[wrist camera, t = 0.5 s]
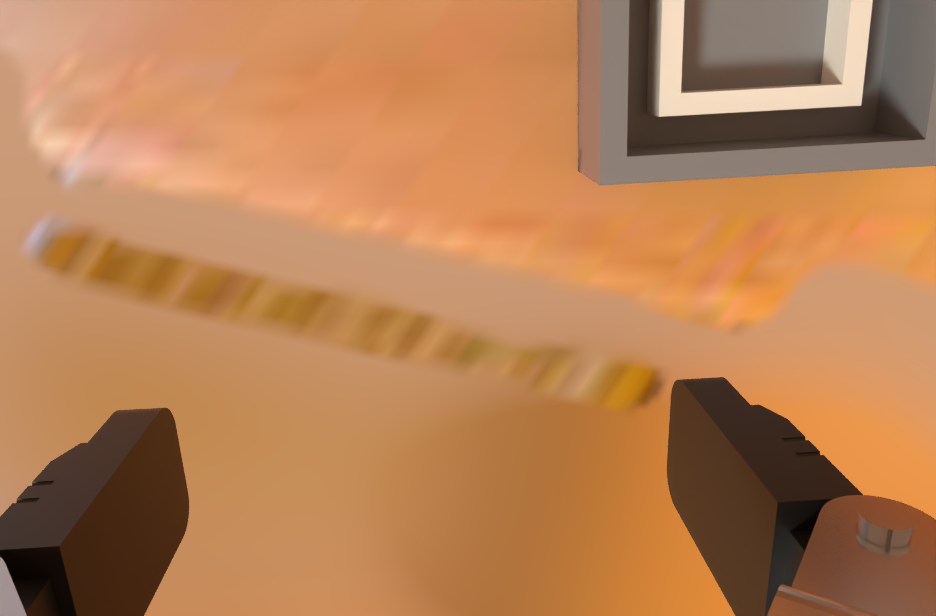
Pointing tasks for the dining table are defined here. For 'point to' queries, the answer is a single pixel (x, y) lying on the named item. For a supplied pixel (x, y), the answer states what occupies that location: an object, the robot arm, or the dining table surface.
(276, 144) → the dining table surface
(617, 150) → the walled box
